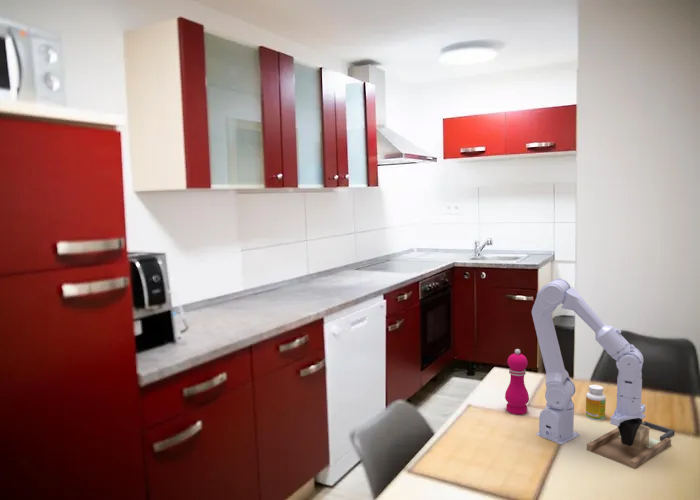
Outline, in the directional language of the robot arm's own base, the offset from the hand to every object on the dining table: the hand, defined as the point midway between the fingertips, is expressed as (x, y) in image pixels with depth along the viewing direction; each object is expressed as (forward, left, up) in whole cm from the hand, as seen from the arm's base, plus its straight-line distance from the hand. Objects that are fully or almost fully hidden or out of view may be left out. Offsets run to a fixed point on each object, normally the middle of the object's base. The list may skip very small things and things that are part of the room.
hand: (627, 444), depth 141 cm
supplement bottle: (+13, +16, -2) cm, 21 cm away
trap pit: (+15, 0, -2) cm, 15 cm away
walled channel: (+1, 0, -2) cm, 2 cm away
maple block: (+4, 0, -1) cm, 4 cm away
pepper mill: (-1, +34, -2) cm, 34 cm away
